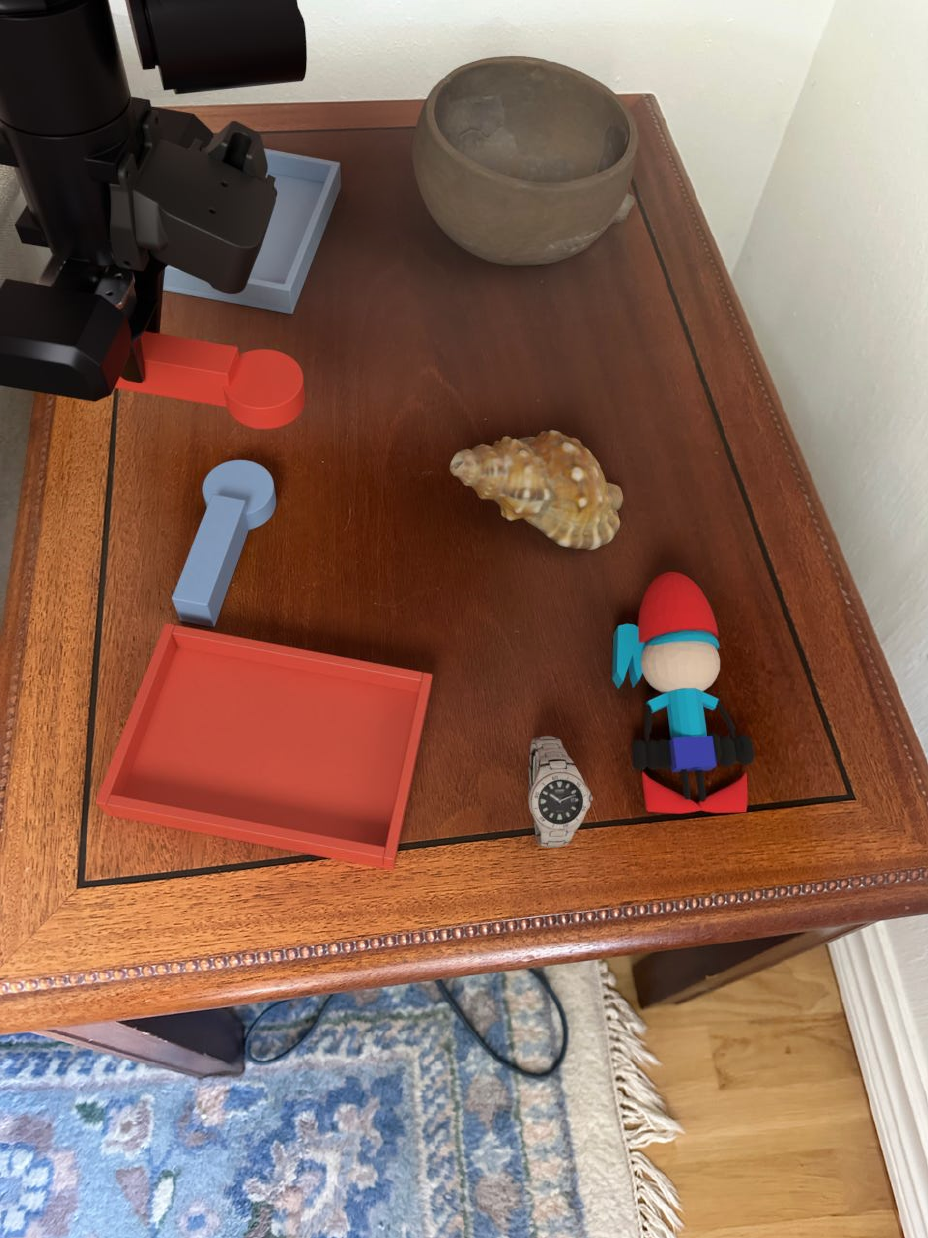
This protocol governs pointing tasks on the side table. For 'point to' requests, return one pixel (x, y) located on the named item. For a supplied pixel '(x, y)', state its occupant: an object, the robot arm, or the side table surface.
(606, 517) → the seashell
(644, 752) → the toy figure
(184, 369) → the red spoon
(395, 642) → the side table surface
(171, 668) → the red tray
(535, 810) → the wristwatch
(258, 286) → the blue tray
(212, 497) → the blue spoon
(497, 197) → the bowl
